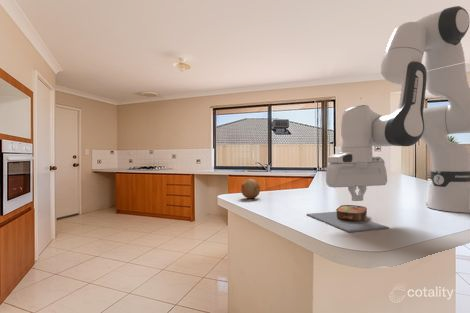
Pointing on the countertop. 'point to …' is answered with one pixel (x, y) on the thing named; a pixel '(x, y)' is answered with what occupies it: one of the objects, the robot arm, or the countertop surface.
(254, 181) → the onion
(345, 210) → the tin
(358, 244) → the countertop surface
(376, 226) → the rubber mat
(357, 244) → the countertop surface
